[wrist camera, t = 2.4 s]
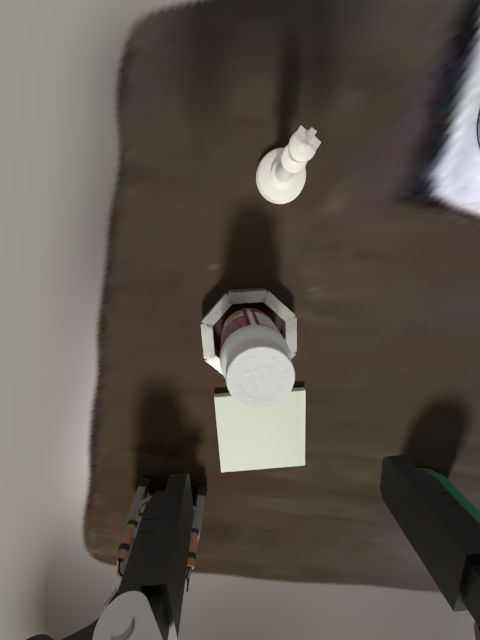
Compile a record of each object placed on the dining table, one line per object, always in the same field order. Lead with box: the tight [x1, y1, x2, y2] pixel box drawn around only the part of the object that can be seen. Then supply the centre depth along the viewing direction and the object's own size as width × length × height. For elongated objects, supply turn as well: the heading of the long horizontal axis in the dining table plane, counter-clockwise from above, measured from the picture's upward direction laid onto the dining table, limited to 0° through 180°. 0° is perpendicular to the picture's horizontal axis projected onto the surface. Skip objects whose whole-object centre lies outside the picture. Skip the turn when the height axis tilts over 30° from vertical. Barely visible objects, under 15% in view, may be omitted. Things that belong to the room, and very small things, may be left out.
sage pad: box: [214, 387, 306, 472], centre depth 33 cm, size 11×11×1 cm
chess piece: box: [256, 126, 321, 204], centre depth 21 cm, size 5×5×10 cm
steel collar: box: [201, 288, 297, 374], centre depth 29 cm, size 10×10×2 cm
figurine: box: [104, 478, 207, 609], centre depth 28 cm, size 9×12×15 cm
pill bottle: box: [220, 308, 295, 409], centre depth 24 cm, size 6×6×11 cm
